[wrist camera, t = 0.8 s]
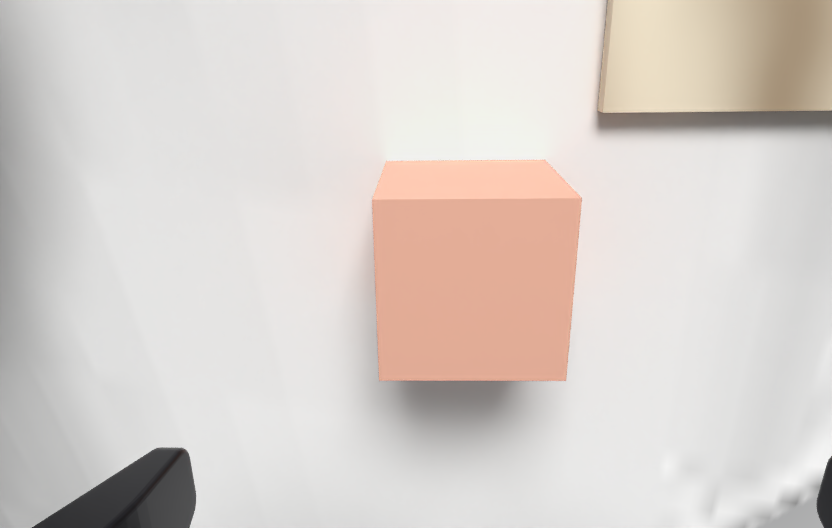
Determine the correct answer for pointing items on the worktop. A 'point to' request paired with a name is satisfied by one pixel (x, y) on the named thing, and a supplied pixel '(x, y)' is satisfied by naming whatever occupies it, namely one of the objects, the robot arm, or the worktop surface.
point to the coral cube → (474, 270)
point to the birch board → (716, 56)
